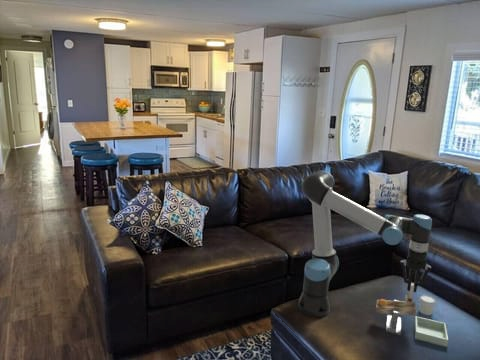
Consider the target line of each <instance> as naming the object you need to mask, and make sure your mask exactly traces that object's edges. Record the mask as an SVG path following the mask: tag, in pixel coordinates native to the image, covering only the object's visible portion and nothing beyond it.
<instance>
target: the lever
mask: <svg viewBox="0 0 480 360" xmlns="http://www.w3.org/2000/svg"><path fill="white" fill-rule="evenodd" d="M404 297H405V299H404V301H403V300H398V301H394V300H387V299H385V300H386V301H387V307H384V306H379V305H378V301H379V300H380V299H377V300H376V305H375V307H376V308H375V309H376V314H386V315H392V314H393V313H394V311H397V312H399V315H402V316H414V317H415V316H417V312H416V311H417V310H416V302H415V301H414V300H413V298H412V299H409V294H408V295H407V294H405V296H404Z"/></svg>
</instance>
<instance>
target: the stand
mask: <svg viewBox="0 0 480 360" xmlns="http://www.w3.org/2000/svg"><path fill="white" fill-rule="evenodd" d="M393 301H399V300H397V299H394V300H393ZM386 315H387V316H386V327H385V332H388V333H391V334H395V335H398V336H401V334H402V318H401V317H400V316H399V315H400V314H399V312H397V311H394V313H393V314H386Z"/></svg>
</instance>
